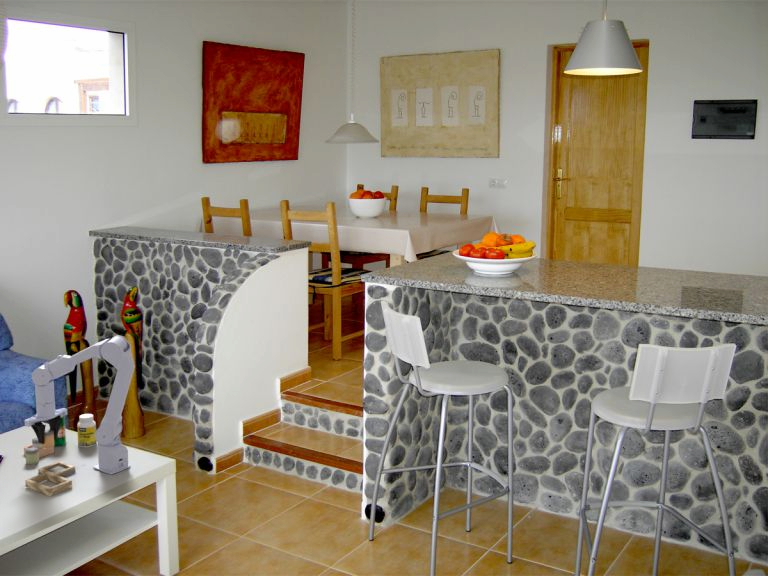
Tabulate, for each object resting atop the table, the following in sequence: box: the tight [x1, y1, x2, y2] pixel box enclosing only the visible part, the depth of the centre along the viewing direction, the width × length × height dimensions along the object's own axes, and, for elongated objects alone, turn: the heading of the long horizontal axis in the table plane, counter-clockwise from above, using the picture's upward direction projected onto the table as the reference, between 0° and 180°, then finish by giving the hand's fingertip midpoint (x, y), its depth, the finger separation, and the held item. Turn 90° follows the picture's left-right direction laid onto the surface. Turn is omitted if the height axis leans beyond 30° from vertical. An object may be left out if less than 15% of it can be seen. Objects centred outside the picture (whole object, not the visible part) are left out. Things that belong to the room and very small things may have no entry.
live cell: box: [41, 428, 54, 448], centre depth 271 cm, size 4×4×5 cm
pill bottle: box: [77, 413, 97, 448], centre depth 290 cm, size 6×6×11 cm
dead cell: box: [31, 437, 44, 450], centre depth 281 cm, size 4×4×5 cm
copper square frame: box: [23, 444, 55, 459], centre depth 281 cm, size 7×7×3 cm
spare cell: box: [24, 448, 40, 466], centre depth 273 cm, size 4×4×5 cm
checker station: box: [24, 460, 76, 497], centre depth 261 cm, size 17×16×2 cm
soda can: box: [54, 415, 67, 448], centre depth 289 cm, size 5×5×12 cm
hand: (47, 441), depth 271 cm, fingers closed on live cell, 4 cm apart
